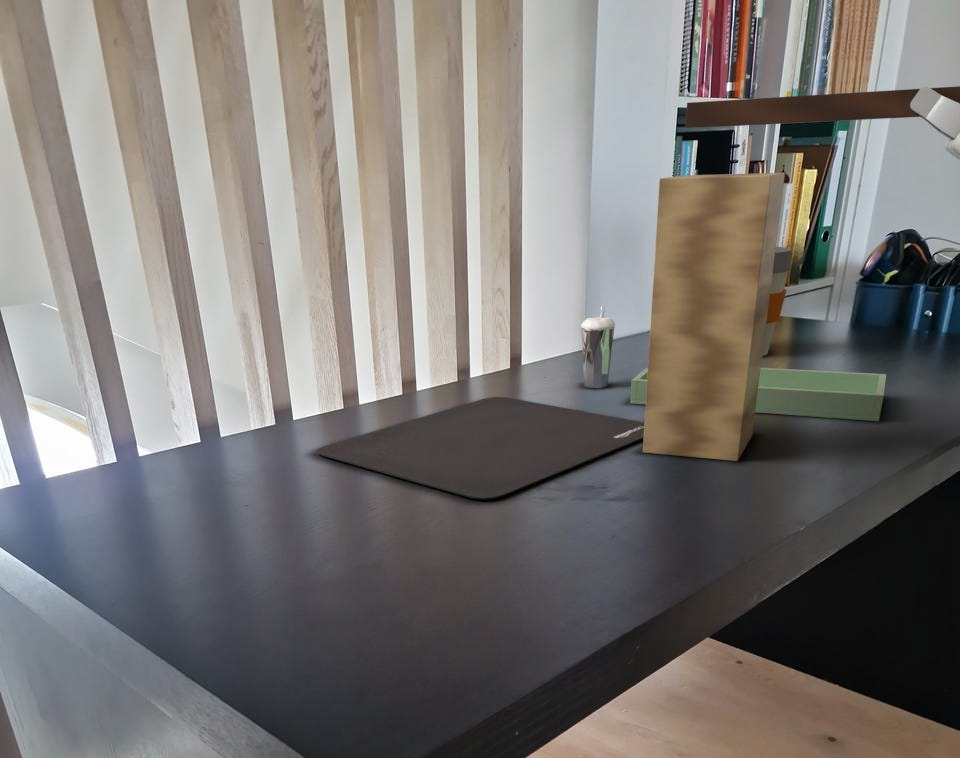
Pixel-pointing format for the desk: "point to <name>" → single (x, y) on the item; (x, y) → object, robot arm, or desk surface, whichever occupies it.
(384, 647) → the desk surface
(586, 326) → the milkshake
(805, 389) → the tray
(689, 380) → the stand
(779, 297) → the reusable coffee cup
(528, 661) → the desk surface
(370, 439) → the mouse pad
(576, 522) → the desk surface
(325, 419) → the desk surface
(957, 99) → the stick
